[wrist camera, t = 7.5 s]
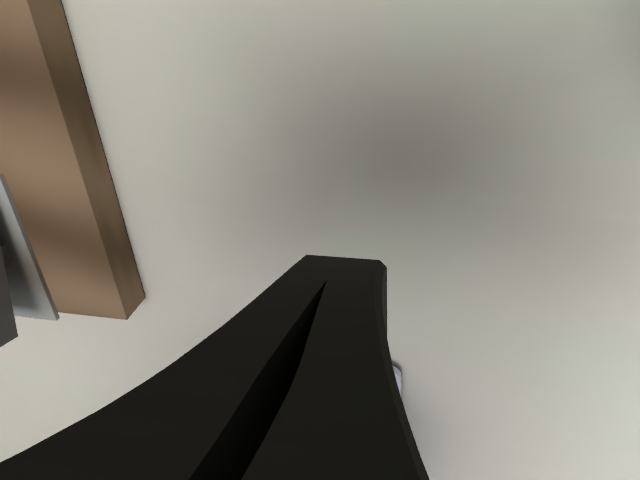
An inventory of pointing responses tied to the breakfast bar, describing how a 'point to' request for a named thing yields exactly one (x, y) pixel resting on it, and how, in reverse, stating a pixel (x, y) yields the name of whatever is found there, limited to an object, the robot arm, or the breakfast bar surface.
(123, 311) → the switch panel
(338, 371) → the robot arm
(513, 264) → the breakfast bar surface
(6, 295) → the switch
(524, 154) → the breakfast bar surface
